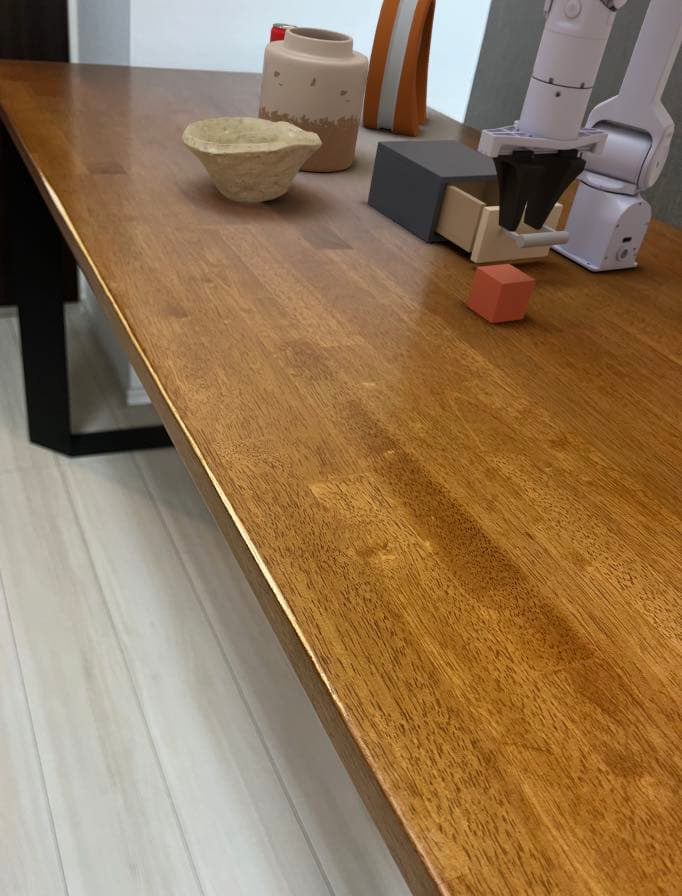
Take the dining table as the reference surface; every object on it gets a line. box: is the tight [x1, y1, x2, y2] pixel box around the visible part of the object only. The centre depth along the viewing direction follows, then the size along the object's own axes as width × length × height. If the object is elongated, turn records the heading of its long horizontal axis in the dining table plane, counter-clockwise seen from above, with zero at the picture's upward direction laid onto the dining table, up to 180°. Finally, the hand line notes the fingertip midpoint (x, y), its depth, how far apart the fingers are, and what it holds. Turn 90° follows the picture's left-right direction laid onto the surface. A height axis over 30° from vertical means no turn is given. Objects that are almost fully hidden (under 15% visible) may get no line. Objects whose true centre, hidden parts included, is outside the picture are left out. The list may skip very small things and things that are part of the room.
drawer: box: [435, 181, 569, 264], centre depth 106 cm, size 18×11×6 cm, turn 27°
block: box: [466, 263, 536, 324], centre depth 92 cm, size 4×4×4 cm
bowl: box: [181, 116, 322, 205], centre depth 112 cm, size 14×18×15 cm
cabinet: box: [367, 139, 498, 244], centre depth 114 cm, size 15×13×8 cm
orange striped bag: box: [362, 0, 437, 137], centre depth 149 cm, size 22×10×23 cm, turn 165°
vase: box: [257, 26, 370, 173], centre depth 127 cm, size 15×15×17 cm
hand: (519, 227), depth 88 cm, fingers open, 3 cm apart
